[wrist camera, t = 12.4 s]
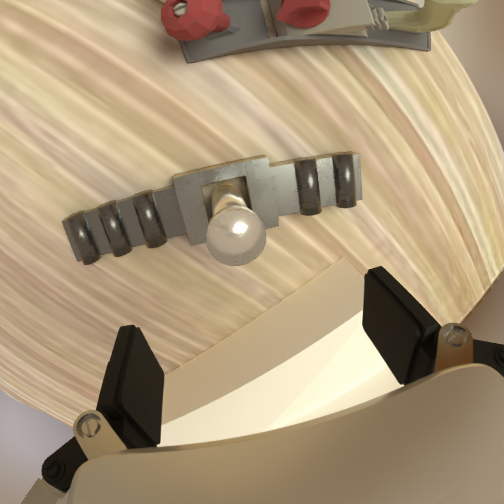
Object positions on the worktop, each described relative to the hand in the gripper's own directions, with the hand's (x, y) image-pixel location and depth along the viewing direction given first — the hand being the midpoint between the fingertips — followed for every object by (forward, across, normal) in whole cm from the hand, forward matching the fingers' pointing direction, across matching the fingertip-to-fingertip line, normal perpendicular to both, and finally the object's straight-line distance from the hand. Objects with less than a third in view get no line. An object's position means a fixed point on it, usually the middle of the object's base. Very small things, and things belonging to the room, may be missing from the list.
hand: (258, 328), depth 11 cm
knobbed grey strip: (+20, +2, 0) cm, 20 cm away
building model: (+21, +3, +30) cm, 37 cm away
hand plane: (+21, -13, -18) cm, 30 cm away
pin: (+20, 0, 0) cm, 20 cm away
